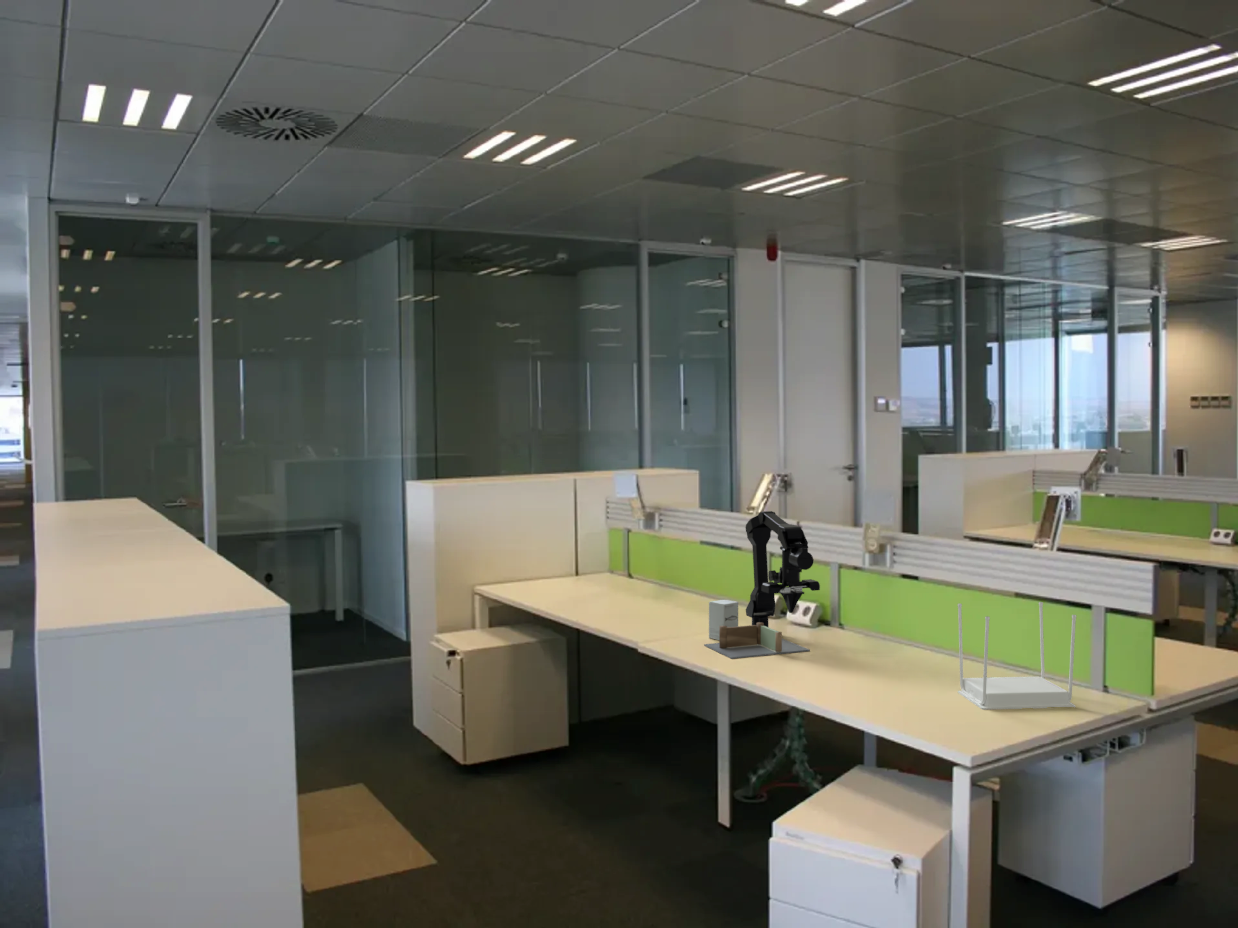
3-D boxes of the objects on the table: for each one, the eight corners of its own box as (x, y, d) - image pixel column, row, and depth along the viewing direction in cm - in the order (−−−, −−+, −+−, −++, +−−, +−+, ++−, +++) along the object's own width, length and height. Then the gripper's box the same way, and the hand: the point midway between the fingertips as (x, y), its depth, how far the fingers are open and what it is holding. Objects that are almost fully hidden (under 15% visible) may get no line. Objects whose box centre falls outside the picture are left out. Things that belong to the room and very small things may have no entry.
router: (1077, 708, 264) (1078, 615, 263) (982, 710, 262) (983, 617, 261) (1042, 688, 283) (1043, 601, 282) (953, 690, 282) (954, 603, 280)
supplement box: (723, 641, 345) (723, 604, 345) (708, 638, 351) (708, 601, 350) (739, 638, 350) (739, 601, 349) (723, 634, 356) (723, 598, 355)
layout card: (704, 645, 339) (704, 643, 339) (779, 638, 349) (779, 636, 349) (731, 658, 320) (731, 656, 320) (809, 651, 330) (809, 649, 330)
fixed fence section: (718, 647, 334) (718, 625, 334) (761, 643, 340) (761, 622, 340) (721, 648, 332) (721, 627, 332) (765, 644, 338) (765, 623, 337)
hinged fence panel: (765, 643, 337) (765, 625, 337) (783, 651, 326) (782, 632, 326) (759, 644, 337) (759, 625, 336) (777, 651, 325) (777, 633, 325)
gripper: (803, 559, 344) (803, 606, 345) (753, 563, 338) (753, 609, 339) (821, 564, 334) (820, 612, 334) (769, 568, 327) (769, 616, 328)
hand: (790, 612), depth 334 cm, fingers closed
